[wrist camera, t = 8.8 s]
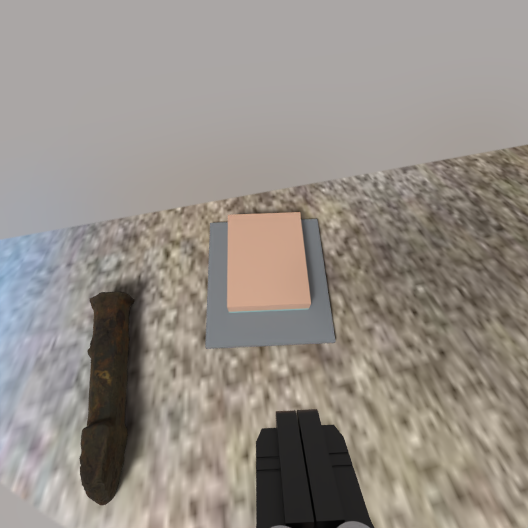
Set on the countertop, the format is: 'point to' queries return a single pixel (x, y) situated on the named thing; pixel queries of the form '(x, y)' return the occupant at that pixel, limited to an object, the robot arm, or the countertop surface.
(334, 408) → the countertop surface
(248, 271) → the tile
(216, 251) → the mat
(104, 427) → the hand tool
